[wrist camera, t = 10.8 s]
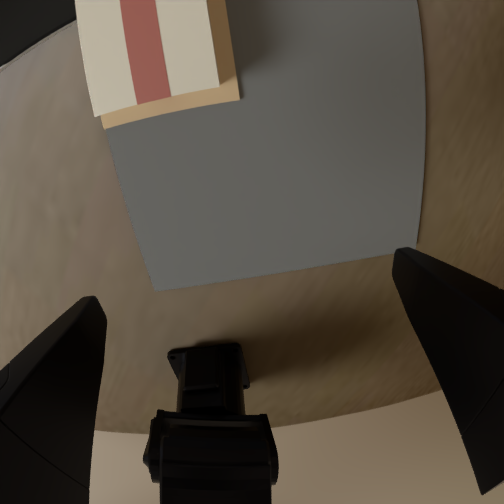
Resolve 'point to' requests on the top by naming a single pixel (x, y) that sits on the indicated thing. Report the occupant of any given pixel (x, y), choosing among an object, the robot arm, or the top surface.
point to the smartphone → (31, 25)
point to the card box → (145, 50)
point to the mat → (281, 144)
